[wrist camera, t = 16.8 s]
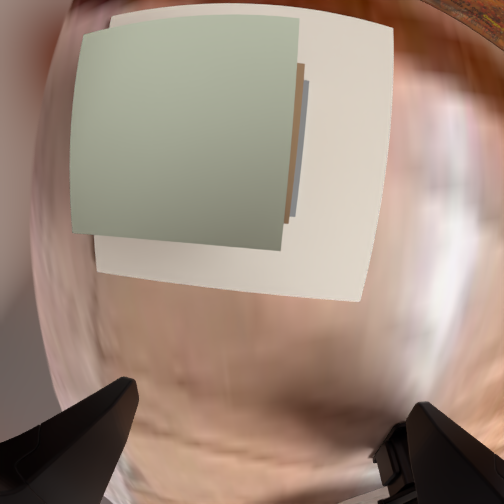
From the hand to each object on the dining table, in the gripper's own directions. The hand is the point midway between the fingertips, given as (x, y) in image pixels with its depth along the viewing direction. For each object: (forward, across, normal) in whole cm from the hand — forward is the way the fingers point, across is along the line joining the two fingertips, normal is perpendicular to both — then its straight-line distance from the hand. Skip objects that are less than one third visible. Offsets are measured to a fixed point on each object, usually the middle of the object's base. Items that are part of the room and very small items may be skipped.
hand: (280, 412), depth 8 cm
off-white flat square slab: (+10, +3, -8) cm, 13 cm away
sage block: (+4, +3, -7) cm, 9 cm away
